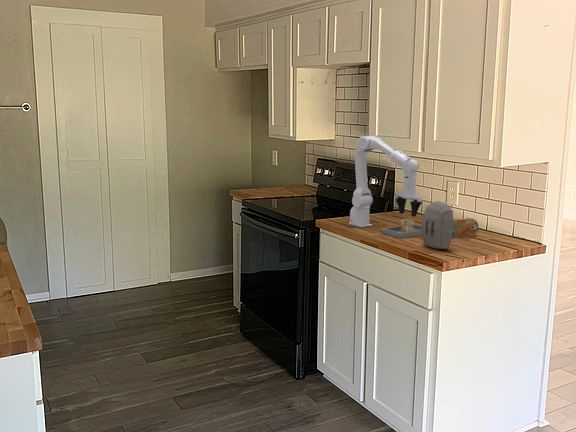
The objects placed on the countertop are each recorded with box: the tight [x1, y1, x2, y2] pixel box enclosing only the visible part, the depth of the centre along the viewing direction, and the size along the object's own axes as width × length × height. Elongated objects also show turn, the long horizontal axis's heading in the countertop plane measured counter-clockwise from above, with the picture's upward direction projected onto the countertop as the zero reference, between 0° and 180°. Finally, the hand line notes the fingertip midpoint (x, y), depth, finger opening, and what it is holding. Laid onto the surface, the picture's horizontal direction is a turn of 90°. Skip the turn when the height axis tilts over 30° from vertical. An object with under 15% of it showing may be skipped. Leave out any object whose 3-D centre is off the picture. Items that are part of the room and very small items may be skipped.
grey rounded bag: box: [420, 200, 454, 250], centre depth 238 cm, size 15×8×20 cm, turn 30°
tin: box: [452, 218, 479, 238], centre depth 260 cm, size 15×3×8 cm, turn 105°
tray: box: [381, 223, 422, 240], centre depth 265 cm, size 12×20×2 cm, turn 124°
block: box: [400, 218, 415, 233], centre depth 264 cm, size 4×4×6 cm
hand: (407, 214), depth 263 cm, fingers open, 7 cm apart
